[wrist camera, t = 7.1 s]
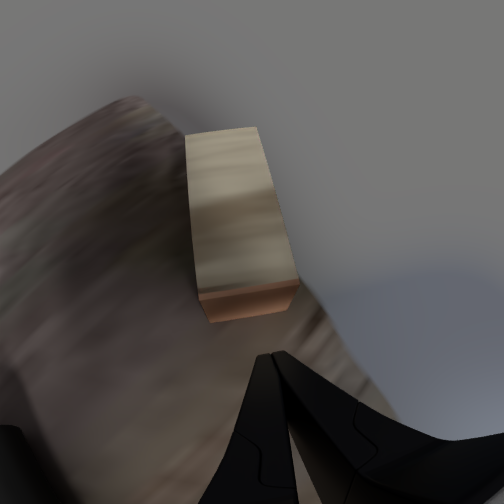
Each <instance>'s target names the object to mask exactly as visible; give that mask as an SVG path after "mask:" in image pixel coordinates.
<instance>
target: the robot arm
mask: <svg viewBox="0 0 504 504" xmlns="http://www.w3.org/2000/svg"><path fill="white" fill-rule="evenodd" d="M288 429H289V430H288ZM289 431H290V433H291V436H292V438H293V440H294V443H295V445H296V447H297V449H298V452H299V454H300V456H301V458H302V461H303V463H304V465H305V467H306V470H307V472H308V474H309V476H310V478H311V481H312V483H313V485H314V487H315V489H316V491H317V494H318V496H319V498H320V500H321V502H322V504H504V433H500V434H494V435H489V436H484V437H478V438H471V439H465V440H457V441H449V440H442V439H438V438H435V437H432V436H430V435H427V434H425V433H422V432H420V431H417V430H415V429H413V428H410V427H408V426H406V425H403V424H401V423H399V422H397V421H394V420H392V419H390V418H388V417H386V416H384V415H382V414H380V413H379V412H377V411H375V410H373V409H372V408H370V407H368V406H367V405H365V404H364V403H362V402H359V401H358V400H357V399H356V398H354V397H352V396H351V395H349V394H348V393H346V392H345V391H343V390H342V389H340V388H339V387H337V386H336V385H334V384H332V383H331V382H329V381H328V380H326V379H325V378H323V377H322V376H321V375H319V374H318V373H316V372H315V371H313V370H312V369H310V368H309V367H307V366H306V365H304V364H303V363H301V362H300V361H299V360H297V359H296V358H294V357H293V356H291V355H290V354H289V353H287V352H286V351H277V352H273V353H271V354H269V353H267V354H262V355H258V356H257V357H256V360H255V364H254V367H253V370H252V373H251V377H250V380H249V383H248V386H247V390H246V393H245V396H244V399H243V402H242V405H241V408H240V412H239V415H238V418H237V421H236V424H235V427H234V432H233V433H232V436H231V439H230V442H229V444H228V447H227V449H226V452H225V455H224V457H223V459H222V461H221V463H220V465H219V467H218V469H217V471H216V473H215V474H214V476H213V478H212V480H211V482H210V483H209V485H208V487H207V489H206V490H205V492H204V494H203V495H202V497H201V499H200V501H199V502H198V504H299V500H298V494H297V487H296V479H295V472H294V465H293V458H292V451H291V444H290V437H289Z"/></svg>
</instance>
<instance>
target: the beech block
mask: <svg viewBox="0 0 504 504" xmlns="http://www.w3.org/2000/svg"><path fill="white" fill-rule="evenodd" d="M185 146H186V164H187V180H188V195H189V208H190V220H191V231H192V241H193V252H194V261H195V270H196V279H197V288H198V296H199V301H200V303H201V305H202V307H203V310H204V312H205V314H206V316H207V318H208V320H209V322H210V323H213V322H220V321H226V320H233V319H239V318H245V317H251V316H257V315H263V314H269V313H274V312H280V311H285V310H287V309H288V307H289V305H290V303H291V301H292V299H293V297H294V295H295V293H296V291H297V289H298V287H299V285H300V281H299V277H298V274H297V270H296V266H295V262H294V258H293V254H292V250H291V247H290V243H289V239H288V235H287V232H286V228H285V225H284V220H283V217H282V213H281V210H280V206H279V203H278V199H277V195H276V192H275V188H274V185H273V181H272V178H271V175H270V171H269V168H268V164H267V161H266V157H265V154H264V151H263V148H262V144H261V141H260V137H259V134H258V131H257V128H256V127H247V128H237V129H228V130H221V131H212V132H205V133H198V134H192V135H185Z"/></svg>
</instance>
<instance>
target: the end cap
mask: <svg viewBox="0 0 504 504" xmlns="http://www.w3.org/2000/svg"><path fill="white" fill-rule="evenodd" d="M0 504H61V503H60V501H59V500H58V498H57V497H56V495H55V493H54V492H53V490H52V488H51V487H50V485H49V483H48V482H47V480H46V478H45V477H44V475H43V473H42V471H41V469H40V467H39V466H38V464H37V462H36V460H35V458H34V456H33V454H32V452H31V450H30V448H29V446H28V443H27V441H26V439H25V437H24V435H23V432H22V430H21V429H20V428H19V427H17V426H13V425H0Z"/></svg>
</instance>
